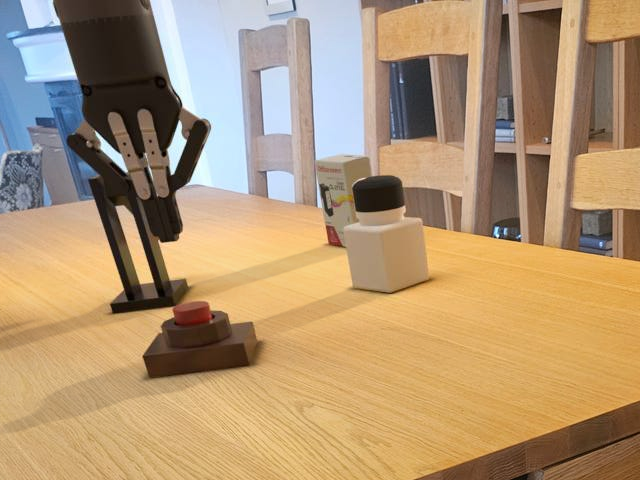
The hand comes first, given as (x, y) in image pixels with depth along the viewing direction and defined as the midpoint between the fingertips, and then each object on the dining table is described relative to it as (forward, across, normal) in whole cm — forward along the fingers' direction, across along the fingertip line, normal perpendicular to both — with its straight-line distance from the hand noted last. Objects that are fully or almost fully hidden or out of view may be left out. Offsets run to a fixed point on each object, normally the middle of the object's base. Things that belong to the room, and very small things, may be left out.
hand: (169, 240), depth 79 cm
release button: (+8, 0, 0) cm, 8 cm away
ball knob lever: (+3, +12, -35) cm, 38 cm away
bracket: (+12, +12, -31) cm, 35 cm away
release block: (+11, 0, 0) cm, 11 cm away
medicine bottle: (+12, -20, -23) cm, 33 cm away
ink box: (+12, -15, -53) cm, 56 cm away
